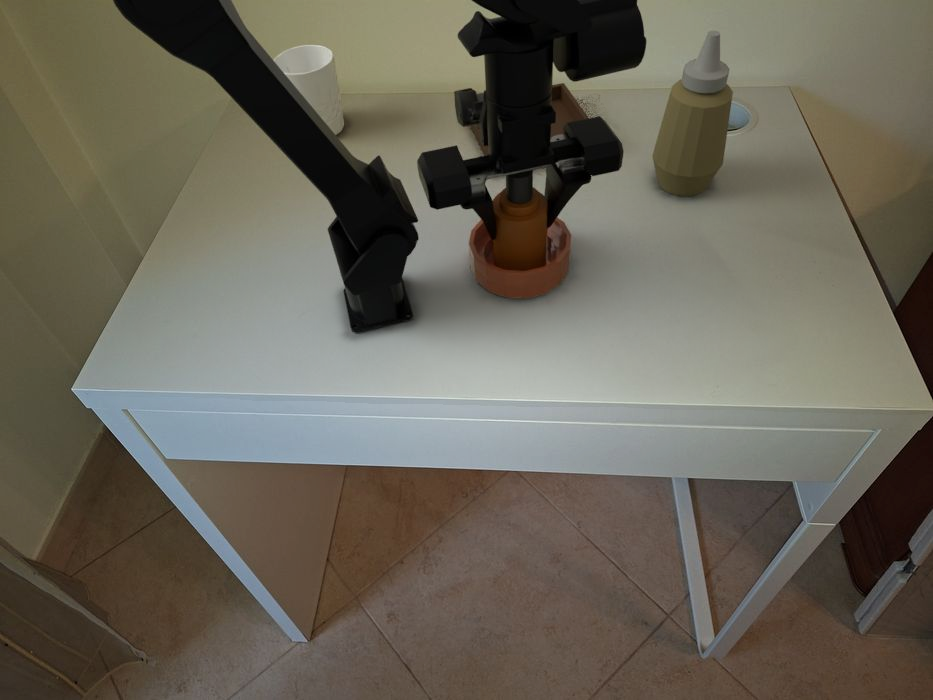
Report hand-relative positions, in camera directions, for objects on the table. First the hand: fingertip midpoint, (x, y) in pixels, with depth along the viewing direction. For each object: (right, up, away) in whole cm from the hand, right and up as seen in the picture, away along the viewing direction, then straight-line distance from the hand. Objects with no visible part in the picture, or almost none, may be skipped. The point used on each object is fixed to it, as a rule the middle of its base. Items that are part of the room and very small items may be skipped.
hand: (519, 231), depth 70 cm
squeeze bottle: (+21, +8, +12) cm, 25 cm away
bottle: (0, -3, +3) cm, 4 cm away
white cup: (-26, +19, +25) cm, 41 cm away
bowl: (0, -3, +4) cm, 5 cm away
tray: (+3, +16, +20) cm, 26 cm away
